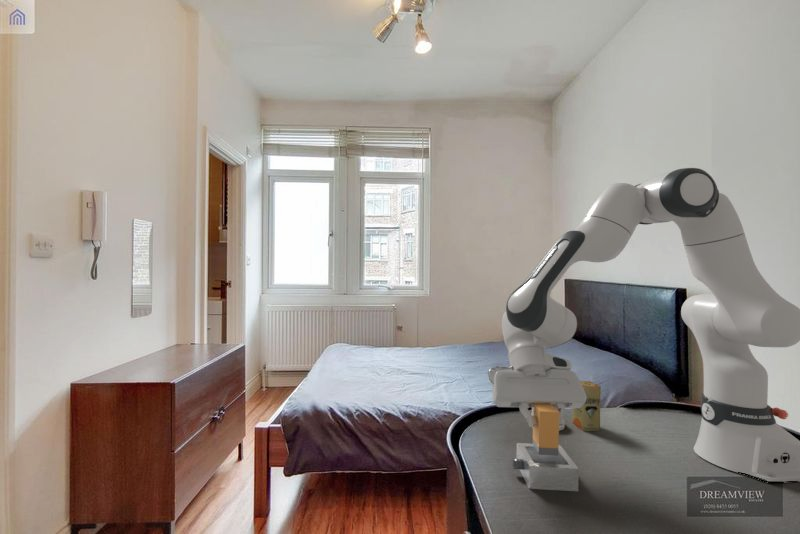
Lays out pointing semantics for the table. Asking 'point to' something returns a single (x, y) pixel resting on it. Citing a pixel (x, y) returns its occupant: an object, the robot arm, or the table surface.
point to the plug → (546, 430)
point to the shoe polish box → (589, 409)
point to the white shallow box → (546, 469)
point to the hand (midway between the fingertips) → (547, 426)
